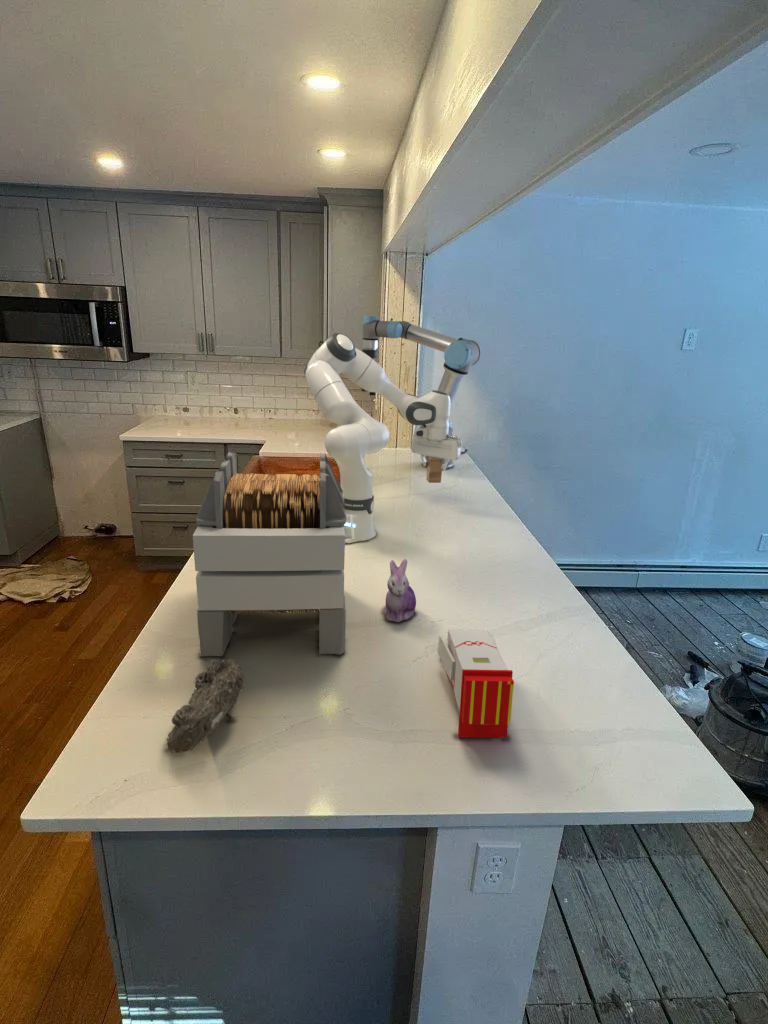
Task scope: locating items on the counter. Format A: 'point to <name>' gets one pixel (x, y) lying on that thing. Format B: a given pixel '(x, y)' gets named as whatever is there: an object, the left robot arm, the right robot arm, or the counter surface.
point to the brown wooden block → (434, 469)
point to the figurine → (399, 594)
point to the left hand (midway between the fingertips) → (434, 467)
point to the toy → (478, 682)
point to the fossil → (206, 705)
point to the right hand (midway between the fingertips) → (368, 393)
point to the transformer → (270, 552)
